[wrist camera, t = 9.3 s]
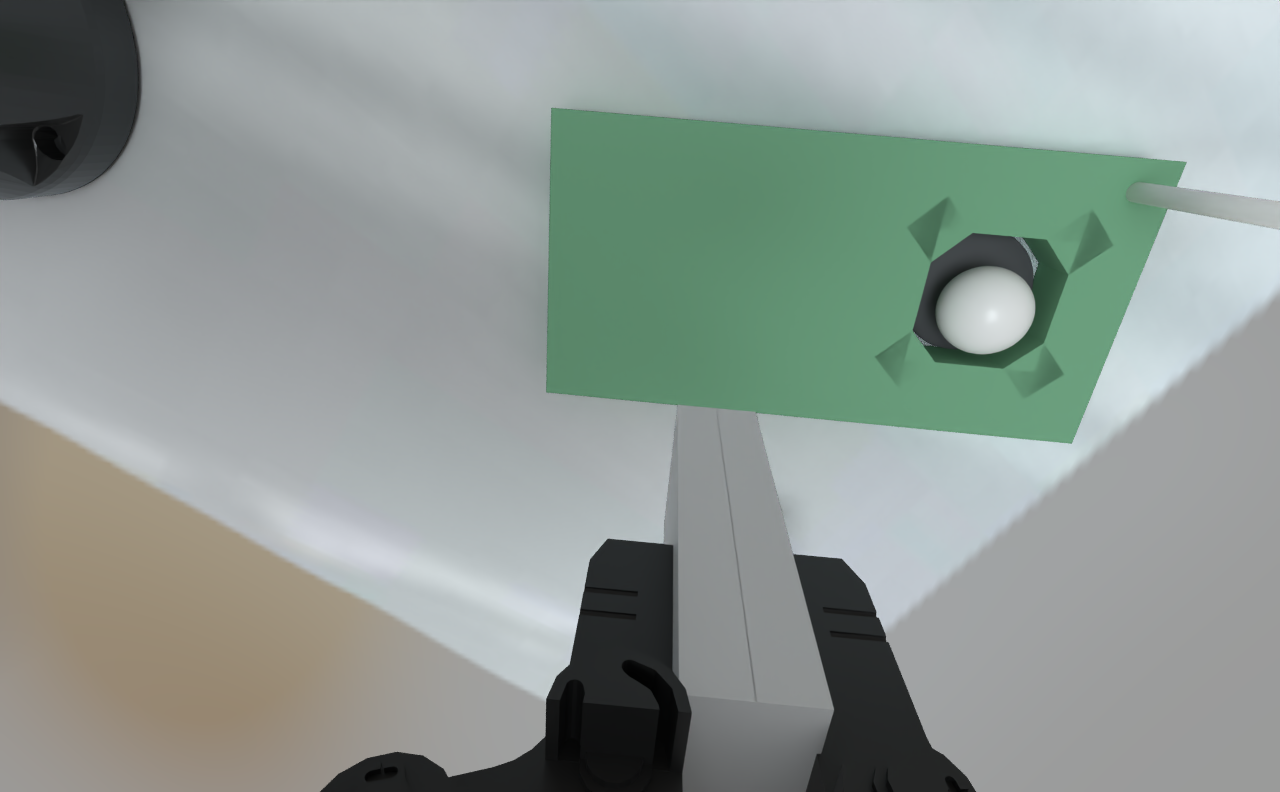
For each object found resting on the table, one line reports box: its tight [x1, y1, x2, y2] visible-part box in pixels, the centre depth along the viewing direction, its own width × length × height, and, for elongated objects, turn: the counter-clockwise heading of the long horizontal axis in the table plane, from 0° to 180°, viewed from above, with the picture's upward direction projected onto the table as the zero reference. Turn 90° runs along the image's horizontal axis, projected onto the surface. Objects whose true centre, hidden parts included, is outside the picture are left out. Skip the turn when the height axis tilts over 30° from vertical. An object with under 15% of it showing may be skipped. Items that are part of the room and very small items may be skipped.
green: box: [546, 108, 1280, 444], centre depth 25 cm, size 28×13×12 cm, turn 85°
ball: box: [935, 266, 1035, 354], centre depth 29 cm, size 4×4×4 cm
